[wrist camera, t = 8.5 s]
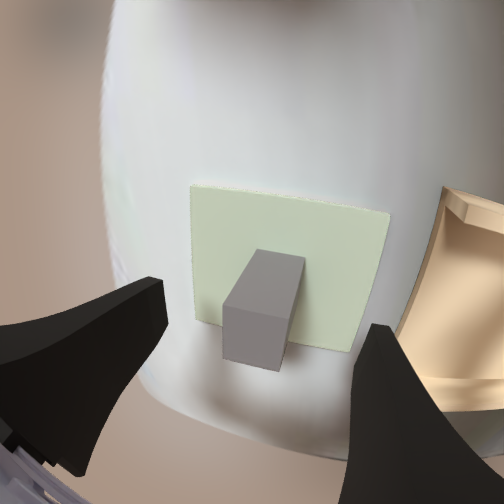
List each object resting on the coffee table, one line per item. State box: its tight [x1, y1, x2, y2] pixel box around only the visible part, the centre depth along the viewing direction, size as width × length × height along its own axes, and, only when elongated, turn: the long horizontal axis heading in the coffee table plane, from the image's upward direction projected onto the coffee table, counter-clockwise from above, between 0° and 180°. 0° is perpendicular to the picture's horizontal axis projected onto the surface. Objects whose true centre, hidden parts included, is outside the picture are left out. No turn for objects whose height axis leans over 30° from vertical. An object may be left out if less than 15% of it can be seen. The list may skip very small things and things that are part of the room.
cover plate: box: [190, 184, 391, 372], centre depth 11 cm, size 8×7×5 cm
